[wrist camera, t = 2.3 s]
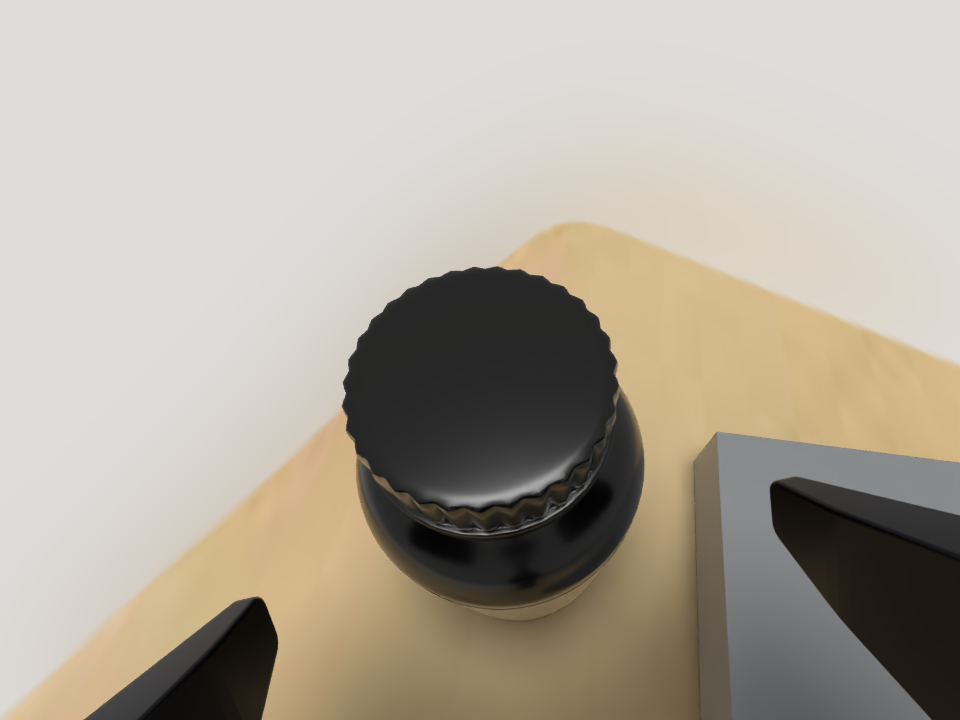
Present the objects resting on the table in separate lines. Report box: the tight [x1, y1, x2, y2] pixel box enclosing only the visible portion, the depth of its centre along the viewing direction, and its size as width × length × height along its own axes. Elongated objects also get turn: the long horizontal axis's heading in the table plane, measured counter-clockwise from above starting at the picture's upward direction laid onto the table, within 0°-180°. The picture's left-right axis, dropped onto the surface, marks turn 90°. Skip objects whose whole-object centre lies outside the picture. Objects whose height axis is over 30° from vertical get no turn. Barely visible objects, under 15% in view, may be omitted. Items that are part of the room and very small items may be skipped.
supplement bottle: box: [342, 266, 644, 621], centre depth 13 cm, size 7×7×12 cm
